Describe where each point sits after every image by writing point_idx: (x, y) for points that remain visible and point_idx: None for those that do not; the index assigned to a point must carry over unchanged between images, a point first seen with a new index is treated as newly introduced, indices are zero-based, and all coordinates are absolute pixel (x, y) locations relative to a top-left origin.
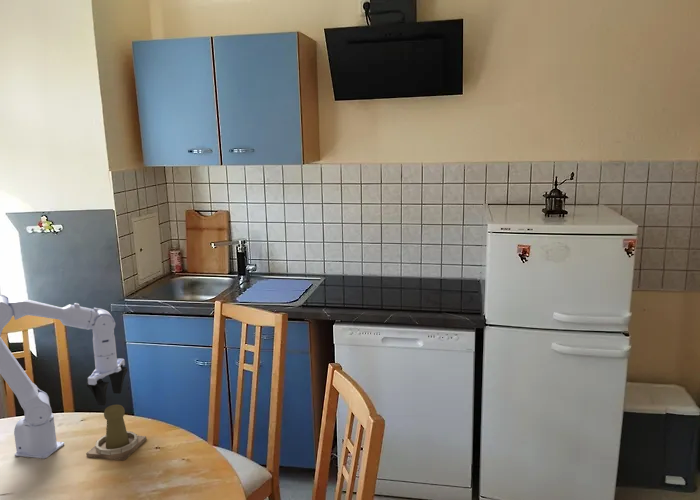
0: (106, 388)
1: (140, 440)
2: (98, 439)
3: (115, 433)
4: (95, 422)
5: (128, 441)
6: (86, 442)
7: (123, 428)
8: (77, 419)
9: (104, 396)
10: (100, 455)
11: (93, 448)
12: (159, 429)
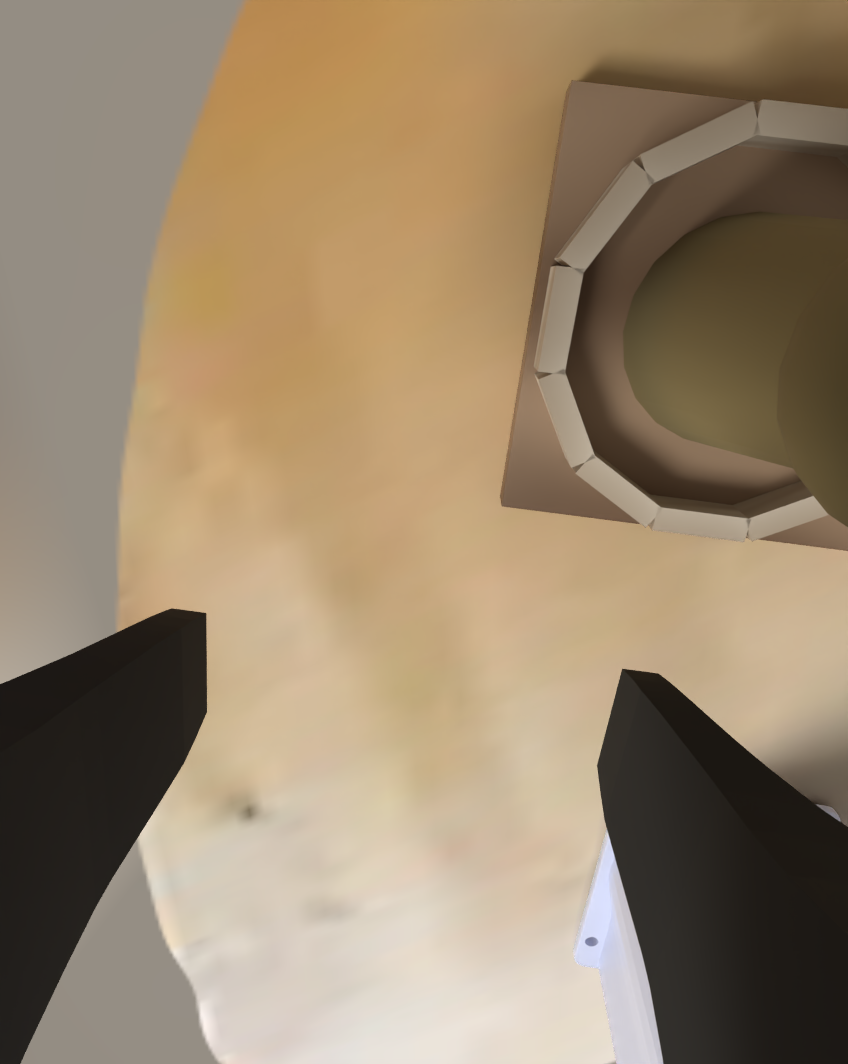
0: (807, 878)
1: (670, 105)
2: (708, 537)
3: None
4: (271, 714)
5: (740, 215)
6: (597, 643)
7: None
8: (245, 845)
9: (761, 766)
10: None
11: (786, 529)
12: (334, 36)
